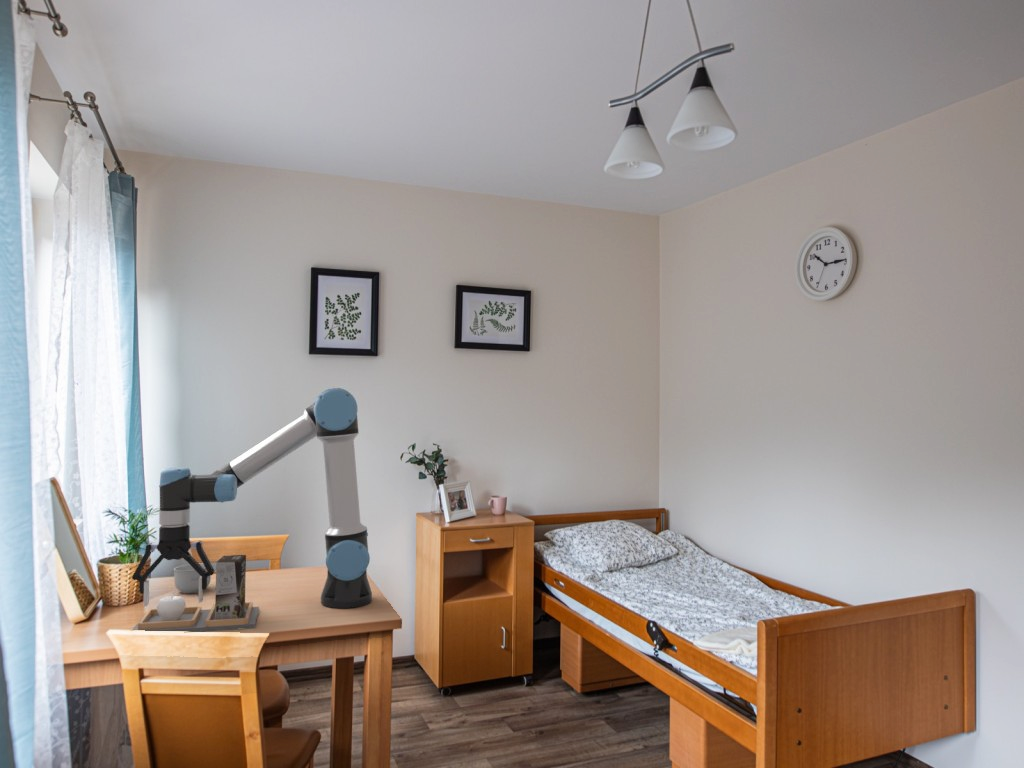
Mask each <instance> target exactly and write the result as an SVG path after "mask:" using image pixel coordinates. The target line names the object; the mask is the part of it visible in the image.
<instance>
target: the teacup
mask: <svg viewBox="0 0 1024 768" xmlns="http://www.w3.org/2000/svg"><path fill="white" fill-rule="evenodd" d="M198 563H199V564H200V565H201V567H202V568H203V569H204V570H205V571H207V570H206V568H205V566H204V564H203V562H198ZM173 575H174V576H173V577H174V585H175V586H174V587H175V588H176V590H178V591H179V592H181V593H182V592H183V593H182V594H195V593H199V578H200V575H199V574H198V572H197V571H196V570H195V569H194V568H193V567H192V566H191V565H190V564H189V563H188V564H181V565H179V566H176V567H174V568H173ZM211 576H212V575H210V576H208V577H207V587H209V585H210V583H211V579H212V578H211ZM204 590H205V589H203V591H204Z"/></svg>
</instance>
